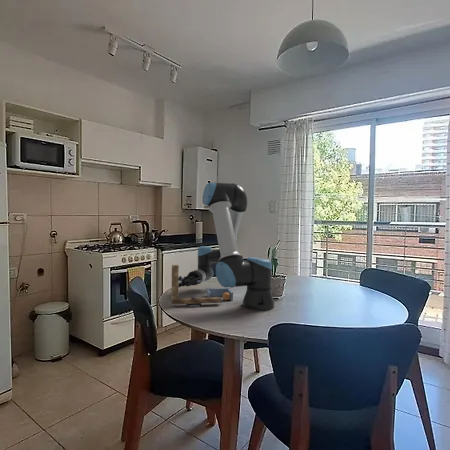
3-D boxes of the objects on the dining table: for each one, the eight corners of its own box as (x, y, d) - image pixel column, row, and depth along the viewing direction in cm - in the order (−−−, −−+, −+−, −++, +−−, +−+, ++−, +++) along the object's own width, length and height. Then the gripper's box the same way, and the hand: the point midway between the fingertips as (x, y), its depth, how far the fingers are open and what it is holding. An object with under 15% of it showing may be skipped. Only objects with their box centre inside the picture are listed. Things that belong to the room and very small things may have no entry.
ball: (232, 297, 175) (231, 293, 172) (227, 303, 173) (226, 299, 170) (226, 293, 177) (225, 289, 174) (221, 299, 175) (220, 295, 172)
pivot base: (203, 304, 165) (203, 302, 165) (196, 308, 159) (196, 306, 159) (190, 302, 168) (190, 301, 168) (183, 306, 162) (183, 304, 162)
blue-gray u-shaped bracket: (232, 300, 173) (233, 292, 173) (208, 301, 171) (208, 293, 171) (229, 295, 183) (229, 288, 183) (206, 295, 181) (206, 288, 181)
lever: (219, 301, 167) (220, 264, 166) (221, 302, 164) (221, 265, 164) (171, 302, 163) (171, 265, 162) (171, 304, 160) (172, 266, 159)
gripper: (207, 285, 183) (185, 295, 161) (185, 282, 188) (161, 292, 166) (207, 271, 182) (185, 279, 161) (185, 269, 187) (161, 277, 166)
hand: (173, 286), depth 163 cm, fingers closed
